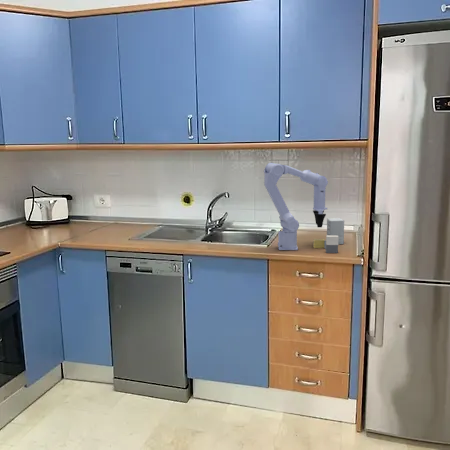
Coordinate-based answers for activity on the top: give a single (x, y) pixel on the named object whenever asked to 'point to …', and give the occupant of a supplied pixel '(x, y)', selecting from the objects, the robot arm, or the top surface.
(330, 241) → the light grey brick
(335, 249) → the charcoal brick
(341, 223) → the supplement box
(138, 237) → the top surface
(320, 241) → the mustard brick
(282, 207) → the robot arm
